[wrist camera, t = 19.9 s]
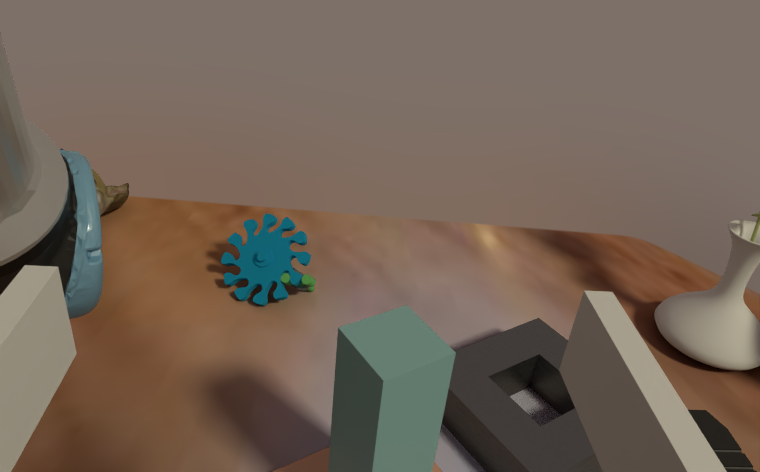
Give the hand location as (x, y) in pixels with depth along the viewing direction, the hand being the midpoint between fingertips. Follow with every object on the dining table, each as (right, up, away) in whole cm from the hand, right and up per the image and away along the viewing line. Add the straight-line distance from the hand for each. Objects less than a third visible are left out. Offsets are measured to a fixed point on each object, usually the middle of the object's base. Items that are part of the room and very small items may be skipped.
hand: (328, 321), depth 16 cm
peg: (+1, -18, +28) cm, 33 cm away
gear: (-11, -4, +51) cm, 53 cm away
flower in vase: (+37, -9, +51) cm, 63 cm away
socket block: (+14, -14, +38) cm, 43 cm away
